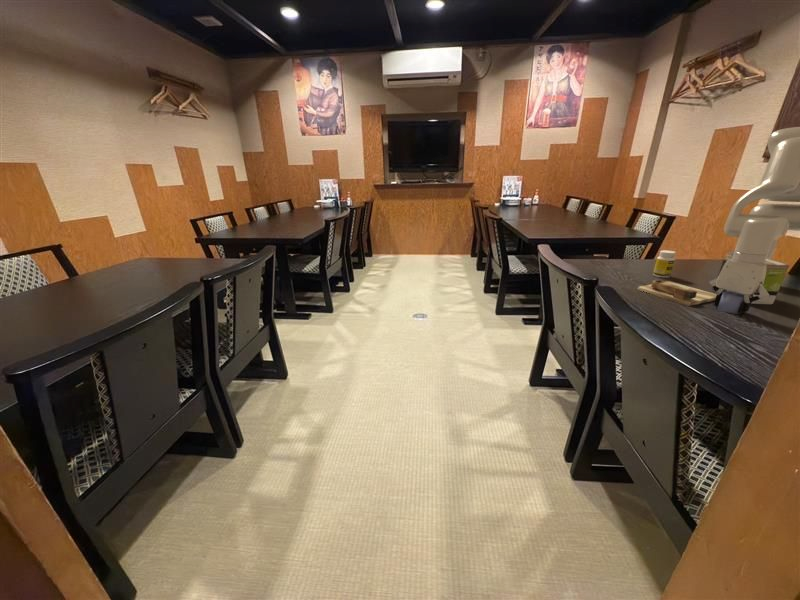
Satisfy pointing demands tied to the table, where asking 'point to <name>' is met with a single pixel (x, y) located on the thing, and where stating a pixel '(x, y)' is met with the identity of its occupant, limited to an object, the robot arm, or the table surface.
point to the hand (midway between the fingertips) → (729, 308)
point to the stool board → (680, 294)
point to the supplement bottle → (664, 264)
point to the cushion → (730, 302)
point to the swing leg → (672, 288)
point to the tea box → (768, 279)
